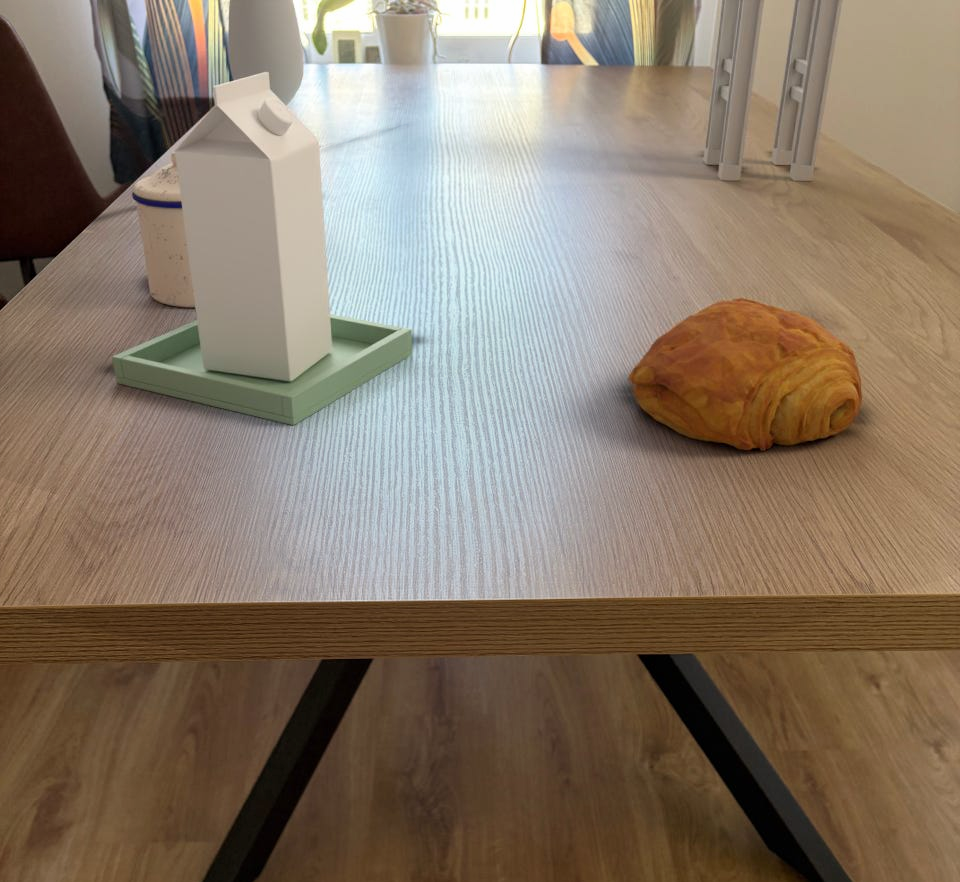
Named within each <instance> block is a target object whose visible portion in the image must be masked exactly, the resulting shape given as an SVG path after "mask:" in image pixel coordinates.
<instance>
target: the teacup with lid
mask: <svg viewBox="0 0 960 882" xmlns="http://www.w3.org/2000/svg"><path fill="white" fill-rule="evenodd" d="M170 157H171V158H170V160H171V163H169V164H166V165H163V166H162V167H160V168H159V169H157V170H156V172H155V173H153V174H152V175H150V176H146V177H143V178H142V179H140V180H138V181H136V183H135V184H134V185H133V188H132V193H131V196H132V199H133V200H134V201H135V205H136V210H137V216H138V223H139V229H140V235H141V236H140V237H141V242H142V248H143V257H144V262H145V267H146V274H147V275H146V276H147V281H148V282H147V283H148V287H149V292H150V296H151V297H152V298H153V299H154V300H155V301H157V302H159V303H161V304H164V305H168V306H172V307H179V308H195V301H194V293H193V285H192V278H191V270H190V263H189V255H188V248H187V240H186V232H185V225H184V217H183V210H182V202H181V195H180V187H179V179H178V172H177V164H176V157H175V150H173V151H172V152H171V155H170Z"/></svg>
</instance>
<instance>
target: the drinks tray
mask: <svg viewBox="0 0 960 882" xmlns="http://www.w3.org/2000/svg"><path fill="white" fill-rule="evenodd" d="M330 323H331V338H332V351H330V352H329V353H328V354H327V355H325V356H324V357H323V358H321V359H320V360H319V361H318V362H316V363H315V364H314V365H312V366H311V367H310V368H308V369H307V370H306V371H304V372H303V373H302V374H300V375H299V376H298V377H297V378H295V379H294V380H292V381H283V380H276V379H269V378H261V377H254V376H247V375H240V374H233V373H227V372H220V371H213V370H206V369H204V368H203V361H202V354H201V346H200V338H199V331H198V323H197V319H195V320H193V321H190V322H189V323H187V324H184V325H182V326H179V327H177V328H175V329H173V330H170V331H168V332H166V333H163V334H161V335H159V336H156V337H154V338H152V339H150V340H146V341H145V342H142V343H141V344H138V345H136V346H134V347H131V348H129V349H127V350H124V351H122V352H119V353H118V354H115V355H113V356H112V357H111V359H112V364H113V370H114V377H115V381H116V384H119V385H123V386H127V387H132V388H136V389H140V390H143V391H148V392H152V393H156V394H161V395H165V396H170V397H174V398H177V399H182V400H186V401H190V402H193V403H197V404H198V403H199V404H203V405H207V406H210V407H216V408H219V409H224V410H227V411H232V412H237V413H240V414H245V415H249V416H253V417H258V418H262V419H265V420H270V421H273V422H278V423H283V424H287V425H290V426H295V425H297V424H298V423H300V422H302V421H304V420H306V419H307V418H309V417H310V416H312V415H314V414H315V413H317V412H318V411H321V410H322V409H323V408H325V407H327V406H328V405H331V404H332V403H334V402H336V401H337V400H339V399H340V398H342V397H343V396H345V395H347V394H348V393H350V392H352V391H354V390H355V389H357V388H358V387H361V386H362V385H364V384H365V383H367V382H369V381H370V380H372V379H374V378H375V377H377V376H378V375H381V374H382V373H384V372H385V371H387V370H388V369H390V368H392V367H394V366H395V365H397V364H398V363H400V362H402V361H404V360H405V359H406V358H409V357H410V356H412V355H413V335H412V332H413V331H412V329H411V328H406V327H401V326H396V325H392V324H391V325H389V324H385V323H381V322H375V321H369V320H365V319H358V318H354V317H349V316H344V315H343V316H342V315H337V314H332V313H330Z"/></svg>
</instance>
